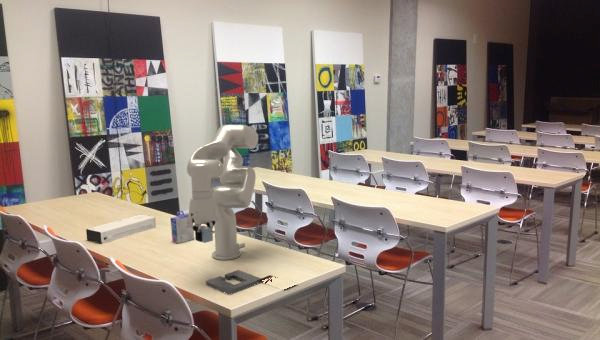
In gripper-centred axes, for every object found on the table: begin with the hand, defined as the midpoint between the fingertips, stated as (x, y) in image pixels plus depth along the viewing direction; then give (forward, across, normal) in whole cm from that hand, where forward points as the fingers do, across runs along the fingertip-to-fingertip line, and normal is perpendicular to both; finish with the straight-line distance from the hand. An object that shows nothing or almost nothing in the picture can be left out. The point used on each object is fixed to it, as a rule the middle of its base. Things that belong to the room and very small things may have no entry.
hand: (204, 239), depth 205 cm
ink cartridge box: (+16, -21, -47) cm, 54 cm away
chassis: (+15, -2, +15) cm, 21 cm away
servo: (0, 0, 0) cm, 0 cm away
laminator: (+16, -6, -80) cm, 82 cm away
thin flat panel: (+16, -14, +27) cm, 34 cm away
